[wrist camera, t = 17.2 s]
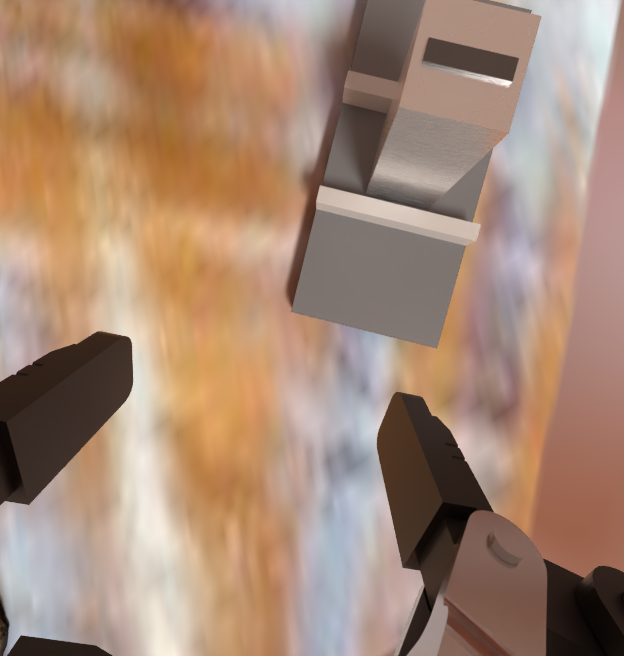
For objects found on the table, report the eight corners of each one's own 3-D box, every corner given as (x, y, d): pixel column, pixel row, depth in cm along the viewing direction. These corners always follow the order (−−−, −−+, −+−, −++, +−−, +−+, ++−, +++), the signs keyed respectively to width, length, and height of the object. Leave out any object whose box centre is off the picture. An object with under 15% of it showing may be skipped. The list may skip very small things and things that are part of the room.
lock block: (365, 193, 23) (399, 104, 13) (382, 128, 23) (429, -14, 13) (428, 208, 23) (510, 131, 13) (445, 143, 23) (543, 12, 13)
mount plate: (293, 311, 26) (289, 311, 22) (369, 1, 24) (378, -53, 21) (428, 345, 26) (445, 351, 22) (514, 34, 24) (547, -13, 21)
